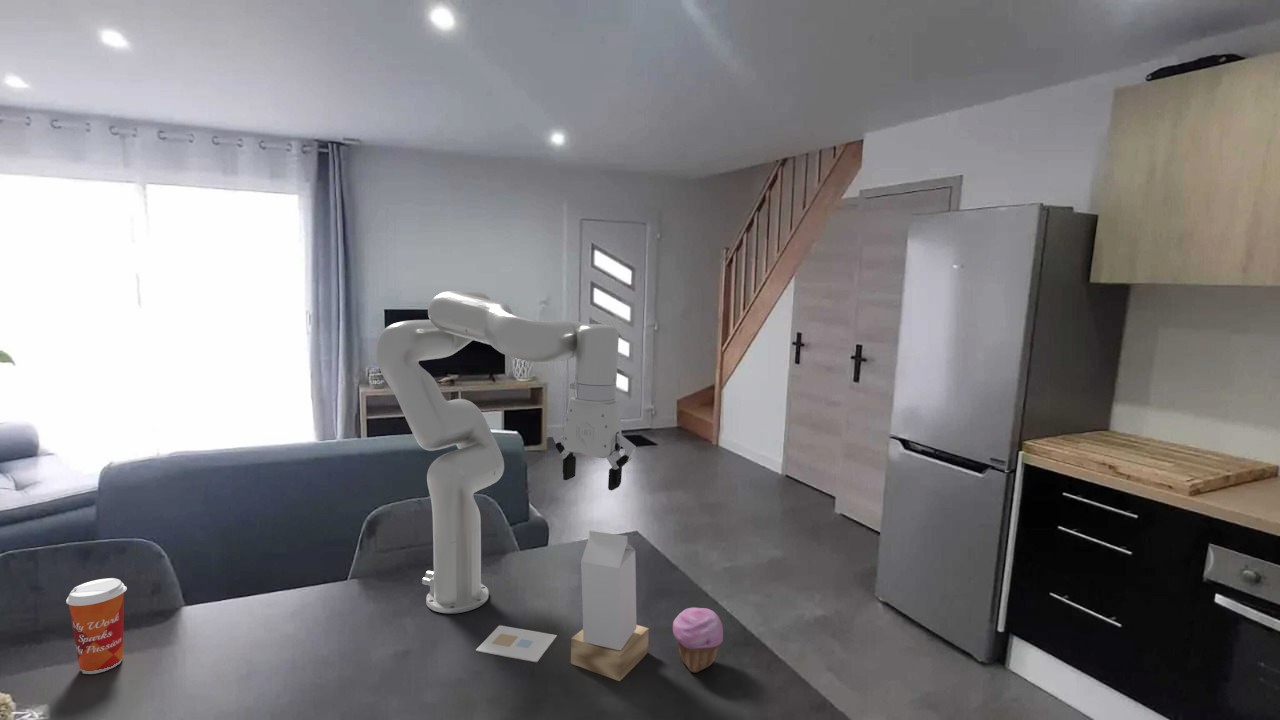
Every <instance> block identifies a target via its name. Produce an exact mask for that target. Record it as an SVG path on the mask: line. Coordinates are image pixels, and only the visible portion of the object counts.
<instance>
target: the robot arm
mask: <svg viewBox="0 0 1280 720" xmlns="http://www.w3.org/2000/svg"><path fill="white" fill-rule="evenodd" d="M508 305H509V304H507V303H504V302H501V301H497V300H494V299H493V300H492V299H491V298H490V297H489V296H488V295H486V293H485V294H484V293H483V292H481V291H474V290H448V291H442V292H441V293H438V294H437V295H435V296H434V297H433V298H432V299H431V301H430V302H429V304H428V308H427V316H428V318H429V319H413V320H403V321H399V322H395V323H392V324H390V325H388V326H386V327H385V328H384V329H383V330H382V331H381V332H380V334H379V336H378V339H377V340H376V341H377V343H376V347H375V356H376V363H377V365H378V369H379V371H380V372H381V375H382V376H383V378H384V380H385V382H386V383H387V385H388V386H389V388H390V389H391V391H392V393H393V394H394V396H395V398H396V401H397V402H398V405H399V407H400V410H401V411H402V413H403V415H404V417H405V420H406V422H407V424H408V426H409V429H410V431H411V432H412V435H413V437H414V439H415V440H416V442H417V444H418V445H419V446H420V447H421V449H423V450H426V451H431V452H433V451H437V450H442V449H446V448H450V447H453V446H456V447H457V449H456V450H452V451H449V452H447V453H444V454H442V455H440V456H439V457H436V459H435V460H434V461H433V462H431V464H430V465H429V467H428V468H427V469H428V470H427V474H426V482H427V488H428V492H429V497H430V501H431V511H432V537H433V538H432V539H433V541H432V547H433V548H432V549H433V570H431V569H430V570H429V569H428V570H427V571H426V572H425V575H424V577H423V578H422V579H421V584H423V585H426V586H429V592H428V593H427V594H426V598H425V600H426V601H425V603H426V606H427V607H428V608H429V609H430V610H432V611H433V612H438V613H441V614H460V613H466V612H470V611H472V610H475V609H478V608H479V607H481V606H483V605H484V604H485V603H486V602H487V601H488V599H489V588H488V587H487V586H486V585H484V584H483V583H482V539H481V538H482V527H481V526H482V525H481V521H482V520H481V513H480V508H479V506H478V504H477V502H476V501H475V498H474V495H475V494H474V493H476V492H478V491H480V490H483V489H486V488H487V487H490V486H492V485H493V484H496V483H497V482H498V481H499V480H500V479H502V478H501V477H503V475H504V471H505V462H504V457H503V455H502V451H501V449H500V447H499V445H498V443H497V441H496V438H495V436H494V434H493V433H492V430H491V428H490V426H489V424H488V421H487V419H486V417H485V415H484V414H483V412H482V410H480V408H479V407H478V406H477V405H476V404H474V403H473V402H472V401H470V400H467V399H465V398H455V399H452V400H447V399H446V398H445V397H444V395H443V393H442V391H441V390H440V387H439V385H438V383H437V381H436V379H435V378H434V377H433V376H432V375H431V373H430V372H428V371H427V370H426V369H424V368H423V367H422V365H420V363H419V362H420V361H428V360H429V361H430V360H436V359H437V360H439V359H443V358H447V357H450V356H453V355H454V354H456V353H458V351H460V350H462V349H463V348H465V347H466V346H467V345H468V344H470V343H471V342H472V341H475V342H478V343H479V342H480V343H482V344H486V345H489V346H491V347H492V348H494V349H495V350H496V351H498V353H501V354H502V355H505V356H508V357H511V358H515V359H519V360H521V361H526V362H529V363H534V364H542V365H543V364H544V365H545V364H546V365H547V364H552V363H553V364H554V363H557V362H564V361H565V362H566V361H571V360H575V371H574V372H575V374H574V375H575V376H574V382H570V384H569V390H570V391H573V395H574V396H572V397H570V399H569V401H568V406H567V410H566V416H565V421H564V428H561V429H559V430H555V431H554V432H552V434H551V435H552V439H553V440H554V443H555V448H556V449H557V451H558V452H559V455H560V456H559V457H560V458H561V459H562V474H563V476H562V479H563V481H568V480H570V479H572V478H573V479H574V478H575V477H576V468H577V467H576V465H577V464H576V463H577V458H576V455H575V454H577V455H584V456H587V457H594V458H597V459H606V460H607V461H608V464H609V465H610V467H611V468H609V469H608V482H607V485H608V486H607V489H608V490H609V491H611V492H612V491H614V490H616V489H618V488H619V487H620V485H621V484H622V474H623V473H622V472H623V467H625V465H626V464H627V463H628V462H629V461H631V460H632V457H633V456H634V453H635V452H636V451H637V446H636V445H635V444H634V443H632V442H631V441H630V440H629V439H627V438H626V437H624V436H623V435H622V420H621V419H622V417H621V410H620V409H621V408H620V404H619V400H617V399H616V397H617V396H616V395H617V379H618V377H617V376H618V362H619V361H618V359H619V357H618V356H619V340H620V339H619V338H620V336H619V335H620V334H619V331H618V329H617V328H616V327H615V326H614V325H609V324H603V323H601V324H599V323H584V322H581V321H578V320H572V319H559V320H558V319H557V320H556V319H555V320H546V321H545V320H543V321H541V320H536V319H530V318H526V317H522V316H518V315H515V314H513V311H512V309H511V307H510V306H508ZM621 447H622V448H623V449H624V452H623V455H621V453H620V451H621Z"/></svg>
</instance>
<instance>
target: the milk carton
mask: <svg viewBox="0 0 1280 720" xmlns="http://www.w3.org/2000/svg"><path fill="white" fill-rule="evenodd" d="M588 532H589V534H588V536H589V537H588V538H587V539H588V540H587V542H586V545H585V548H584V551H583V554H582V556H581V561H580V567H581V568H580V570H581V600H582V603H581V604H582V605H581V606H582V629H583V640H584V642H585V643H589V644H594V645H598V646H603V647H607V648H612V649H616V650H621V649H622V648H623V647H624V645H625V644H626V642H627V641H628V640H629V638H630V637H631V635H632V634H633V633H634V631H635V630H636V627H637V625H638V624H637V583H636V579H637V575H636V569H637V567H636V549H635V548H634V547H633V546H632V545H631V544H630V543H629V542H628V536H627V535H623V534H615V533H610V532H603V531H602V532H601V531H598V530H597V531H596V530H589V531H588Z"/></svg>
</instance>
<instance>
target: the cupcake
mask: <svg viewBox="0 0 1280 720" xmlns="http://www.w3.org/2000/svg"><path fill="white" fill-rule="evenodd" d="M672 633H673V635H674V638H675V640H676V641H677V644H678V651H679V659H680V660H681V662H683V664H684V665H685V666H686V667H687V669H688V670H689V672H692V673H699V672H700V671H703V670H704V669H707V668H709V667H710V666H711V665H712V664H713V663H714V661H715V659H716V657H717V653H718V651H719V647H720V645H721V644H722V642H723V640H724V628H723V622H722V620H721V619H720V617H719V616H718V614H717V613H716V612H715V611H713V610H712V609H710V608H706V607H705V608H704V607H689V608H688V607H687V608H685V609H684V610H682V611H681V612H680V613H679V614H678V615H677V616H676V617H675V619H674V620H673V622H672Z"/></svg>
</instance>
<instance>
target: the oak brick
mask: <svg viewBox="0 0 1280 720" xmlns="http://www.w3.org/2000/svg"><path fill="white" fill-rule="evenodd" d="M636 625H637V627H636V630H635V631H634V633H633V634H632V635H631V637H630V638H629V640H628V641H627V642H626V644H625V645H624V647H623V648H622V649H621V650H616V649H612V648H607V647H603V646H598V645H594V644H589V643H585V642H584V640H583V628H582V629H581V630H580V631H579V632H577V633H575V635H573V636H572V637H571V638H570V640H571V641H570V664H571V665H574V666H577V667H579V668H582V669H585V670H588V671H590V672H593V673H596V674H599V675H601V676H604V677H606V678H609V679H613V680H615V681H617V682H621V680H623V679H624V678H625V677H626V675H628V674H629V673H630V672H631V670H632V669H634V668H635V667H636V666H637V664H639V663H640V661H641V660H643V659H644V658H645V656H646V655H647V654H648V653H649V632H650V628H649V627H645V626H642V625H639V624H636Z"/></svg>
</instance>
